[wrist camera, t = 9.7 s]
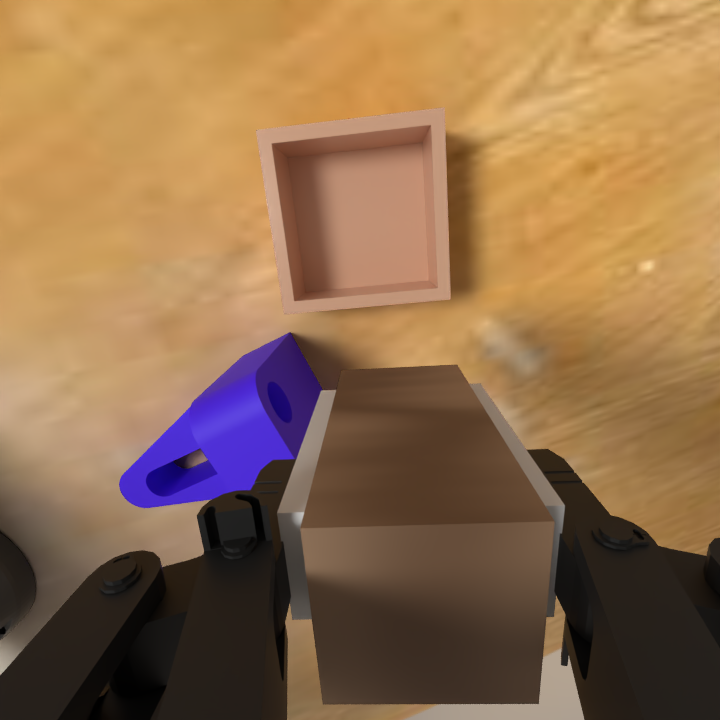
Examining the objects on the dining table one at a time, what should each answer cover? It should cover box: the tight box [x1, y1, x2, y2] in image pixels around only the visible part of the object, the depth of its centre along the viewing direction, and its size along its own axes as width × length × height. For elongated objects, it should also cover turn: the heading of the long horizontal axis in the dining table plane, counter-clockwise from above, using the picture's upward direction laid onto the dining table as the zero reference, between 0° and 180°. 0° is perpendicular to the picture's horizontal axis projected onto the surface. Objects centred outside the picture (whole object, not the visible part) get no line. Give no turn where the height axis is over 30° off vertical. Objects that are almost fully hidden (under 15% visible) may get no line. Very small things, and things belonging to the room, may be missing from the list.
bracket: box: [119, 333, 322, 508], centre depth 30 cm, size 18×11×12 cm, turn 117°
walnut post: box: [300, 365, 555, 704], centre depth 11 cm, size 4×4×8 cm
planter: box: [256, 107, 451, 314], centre depth 28 cm, size 11×11×6 cm
